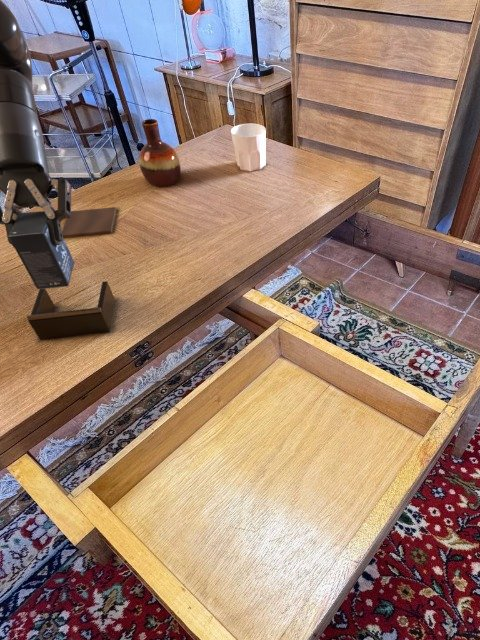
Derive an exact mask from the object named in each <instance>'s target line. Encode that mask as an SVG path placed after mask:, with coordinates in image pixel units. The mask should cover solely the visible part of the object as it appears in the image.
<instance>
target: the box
mask: <svg viewBox="0 0 480 640" xmlns="http://www.w3.org/2000/svg"><path fill="white" fill-rule="evenodd" d="M47 220H49V218H48V216H47V215H46V213H45V212H44V210H43V211H42V210H41V211H40V210H39V211H30V212H29V211H27V212H22V213H21V214H20V215H19V216H18V217H17V218H16V221H15V223H14V225H13V228H12V230H11V232H10V233H9V236H8V237H9V239H10V241H11V242H12V244H13V246H14V247H13V246H12V247H13V248H14V250H15V252H16V253H17V256H18V257H19V258H20V260H21V262H22V264H23V266H24V267H25V269H26V272H27V273H28V275H29V277H30V279H31V281H32V283H33V285H34V286H35V288H36V289H37V290H40V289H46V290H47V289H58V288H65V287H66V288H67V287H69V285H70V282H71V277H72V273H73V269H74V266H75V260H74V257H73V255H72V254H71V251H70V249H69V246H68V245H67V242H66V240H65V238H63V241H61V245H54V244H53V243H52V242H51V238H50V233H49V227H48V222H47Z"/></svg>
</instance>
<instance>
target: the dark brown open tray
mask: <svg viewBox="0 0 480 640" xmlns="http://www.w3.org/2000/svg"><path fill="white" fill-rule="evenodd" d="M115 304H116V298H115V296H114V293H113V291H112V289H111V287H110V284H109V282H108V281H107V280H105V281H102V283H101V288H100V292H99V298H98V302H97V306H96V307H91V308H83V309H73V310H65V311H56V305H55V303H54V301H53V299H52V298H51V296H50V294H49V293H48V292H47V289H38V293H37V296H36V299H35V301H34V305H33V307H32V311H31V313H30V315H29V314H28V315H26V320H27V321H28V324H29V325H30V327H31V328H32V330H33V331H34V333H35V334H36V336H37V337H38V339H39V341H46V340H54V339H63V338H73V337H79V336H80V337H81V336H89V335H98V334H106V333H111V328H112V324H113V323H112V322H113V316H114V311H115ZM55 311H56V312H55Z"/></svg>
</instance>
